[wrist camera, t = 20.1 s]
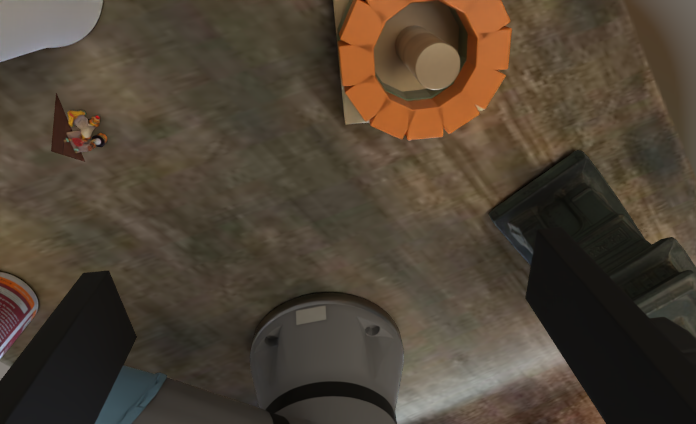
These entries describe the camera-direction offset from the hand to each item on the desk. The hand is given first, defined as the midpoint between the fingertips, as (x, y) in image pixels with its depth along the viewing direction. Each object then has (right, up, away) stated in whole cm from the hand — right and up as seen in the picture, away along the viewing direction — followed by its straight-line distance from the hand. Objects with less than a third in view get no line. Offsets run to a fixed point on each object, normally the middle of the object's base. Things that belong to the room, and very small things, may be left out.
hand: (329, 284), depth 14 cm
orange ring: (+5, +12, +13) cm, 19 cm away
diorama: (-19, +8, +19) cm, 28 cm away
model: (+20, +1, +25) cm, 32 cm away
